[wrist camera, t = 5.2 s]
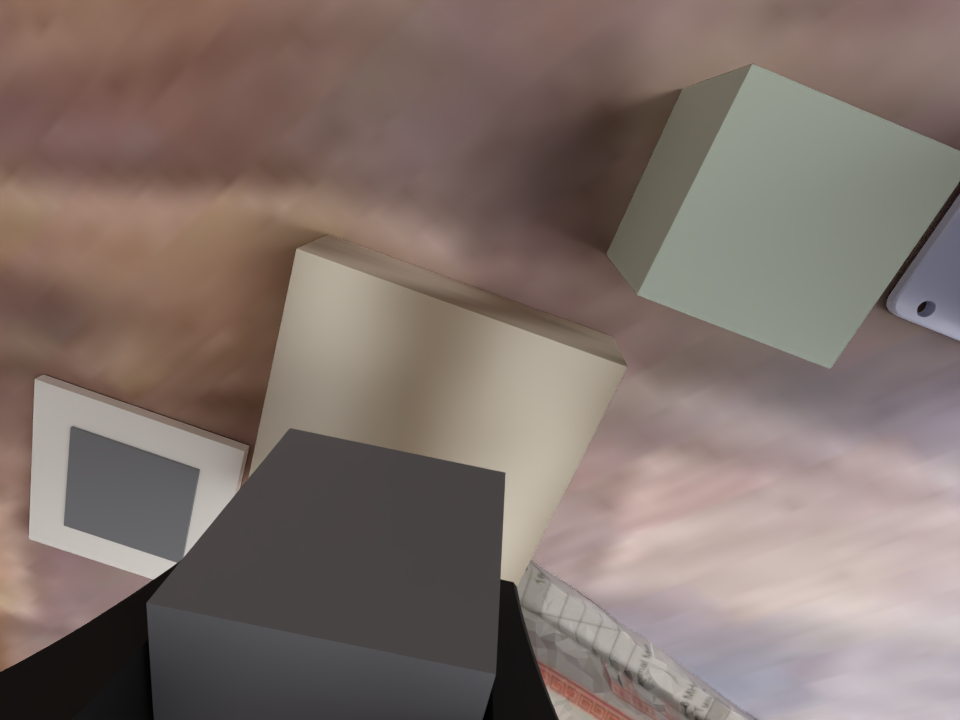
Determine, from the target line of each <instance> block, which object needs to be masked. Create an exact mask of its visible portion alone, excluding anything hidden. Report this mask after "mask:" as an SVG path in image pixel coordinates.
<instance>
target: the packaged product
mask: <svg viewBox="0 0 960 720" xmlns="http://www.w3.org/2000/svg"><path fill="white" fill-rule="evenodd" d="M517 590H518V595H519V600H520V605H521V609H522V613H523V617H524V620H525V624H526V628H527V631H528V635H529V638H530V641H531V644H532V648H533V651H534V654H535V657H536V660H537V663H538V665H539V668H540V671H541V674H542V677H543V680H544V683H545V685H546V688H547V691H548V693H549V696H550V699H551V701H552V704H553V706H554V709H555V711H556V713H557V716H558V718H559V720H755V719H754V718H753V717H751V716H750V715H749V714H747V713H746V712H744V711H743V710H741V709H740V708H738V707H737V706H736V705H734V704H733V703H732V702H730V701H729V700H728V699H726V698H725V697H724V696H722V695H721V694H720V693H718V692H717V691H716V690H714V689H713V688H712V687H710V686H709V685H708V684H706V683H705V682H704V681H702V680H701V679H700V678H698V677H697V676H696V675H694V674H693V673H691V672H690V671H688V670H687V669H686V668H684V667H683V666H682V665H681V664H679V663H678V662H677V661H676V660H675V659H673V658H672V657H671V656H670V655H669V654H667V653H666V652H665V651H664V650H662V649H661V648H659V647H658V646H656V645H654V644H652V643H651V641H649V640H648V639H646V638H645V637H643V636H641V635H639V634H638V633H636V632H634V631H632V630H631V629H629V628H627V627H626V626H624V625H622V624H620V623H619V622H618V621H617V620H615V619H614V618H613V617H612V616H610V615H609V614H608V613H606V612H605V611H604V610H602V609H601V608H599V607H598V606H596V605H595V604H594V603H592V602H591V601H589V600H588V599H587V598H585V597H584V596H582V595H581V594H580V593H578V592H577V591H575V590H574V589H573V588H571V587H570V586H568V585H567V584H566V583H564V582H563V581H561V580H560V579H559V578H557V577H556V576H554V575H553V574H551V573H549V572H548V571H546V570H545V569H543V568H541V567H540V566H538V565H537V564H535V563H534V562H532V561H531V560H530V562H529V564H528V566H527V568H526V570H525V572H524V574H523V576H522V578H521V580H520V582H519V584H518V586H517Z"/></svg>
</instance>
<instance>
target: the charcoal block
mask: <svg viewBox="0 0 960 720" xmlns="http://www.w3.org/2000/svg"><path fill="white" fill-rule="evenodd" d="M505 474H506V473H505V472H500V471H495V470H491V469H486V468H481V467H476V466H471V465H466V464H462V463H457V462H452V461H447V460H442V459H437V458H433V457H428V456H423V455H418V454H413V453H408V452H404V451H399V450H394V449H389V448H384V447H379V446H375V445H370V444H365V443H360V442H355V441H350V440H346V439H341V438H336V437H331V436H326V435H321V434H317V433H312V432H307V431H302V430H297V429H292V428H289V430H288V431H287V432H286V433H285V435H284V436H283V437H282V438H281V439H280V441H279V442H278V443H277V444H276V446H275V447H274V448H273V449H272V450H271V452H270V453H269V454H268V455H267V457H266V458H265V459H264V460H263V461H262V463H261V464H260V465H259V466H258V467H257V469H256V470H255V471H254V472H253V474H252V475H251V476H250V477H249V478H248V480H247V481H246V482H245V483H244V485H243V486H242V487H241V488H240V489H239V491H238V492H237V493H236V494H235V496H234V497H233V498H232V499H231V500H230V502H229V503H228V504H227V505H226V507H225V508H224V509H223V510H222V511H221V513H220V514H219V515H218V516H217V517H216V519H215V520H214V521H213V522H212V524H211V525H210V526H209V527H208V528H207V530H206V531H205V532H204V533H203V535H202V536H201V537H200V538H199V539H198V541H197V542H196V543H195V544H194V546H193V547H192V548H191V549H190V550H189V552H188V553H187V554H186V555H185V556H184V558H183V559H182V560H181V561H180V563H179V564H178V565H177V566H176V567H175V569H174V570H173V571H172V572H171V574H170V575H169V576H168V577H167V578H166V580H165V581H164V582H163V583H162V585H161V586H160V587H159V588H158V589H157V591H156V592H155V593H154V594H153V596H152V597H151V598H150V599H149V600H148V602H147V603H146V605H147V621H148V637H149V653H150V669H151V684H152V700H153V716H154V720H483V716H484V713H485V710H486V706H487V703H488V699H489V696H490V693H491V689H492V686H493V683H494V679H495V676H496V662H497V641H498V620H499V599H500V578H501V557H502V537H503V516H504V495H505Z"/></svg>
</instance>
